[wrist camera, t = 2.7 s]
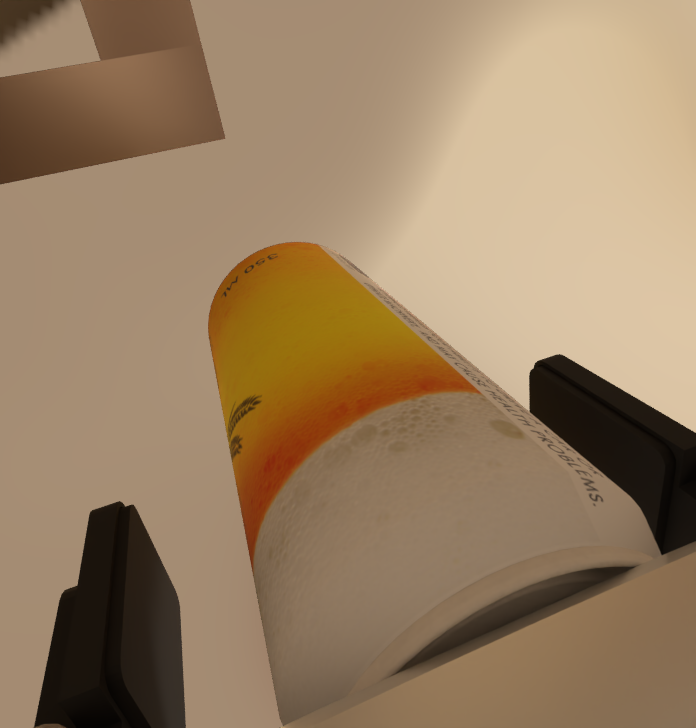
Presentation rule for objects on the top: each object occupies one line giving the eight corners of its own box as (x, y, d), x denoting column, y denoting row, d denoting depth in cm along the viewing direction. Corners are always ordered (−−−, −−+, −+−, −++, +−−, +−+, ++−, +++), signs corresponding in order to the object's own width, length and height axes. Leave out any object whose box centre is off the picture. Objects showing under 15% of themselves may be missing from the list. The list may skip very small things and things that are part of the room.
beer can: (174, 346, 19) (191, 866, 6) (267, 201, 18) (541, 456, 5) (308, 413, 22) (516, 860, 9) (396, 293, 21) (783, 604, 8)
